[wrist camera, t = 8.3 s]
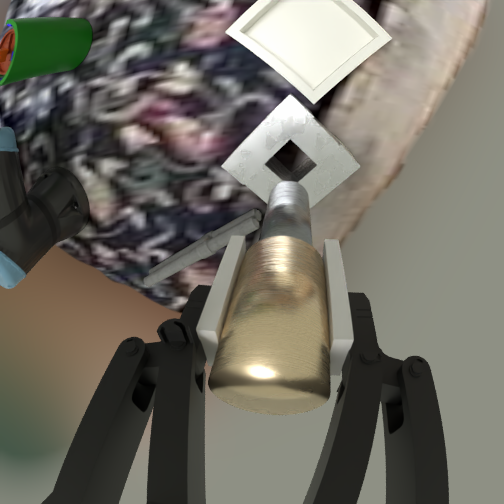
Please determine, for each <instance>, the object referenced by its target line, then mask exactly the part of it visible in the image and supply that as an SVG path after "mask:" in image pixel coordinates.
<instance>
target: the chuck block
mask: <svg viewBox="0 0 504 504" xmlns="http://www.w3.org/2000/svg"><path fill="white" fill-rule="evenodd" d="M290 139H291V140H292V141H293V142H294V143H295V144H296V145H297V146H298V147H299V148H300V149H301V150H302V151H303V152H305V153H306V154H307V155H308V156H309V158H307V159H306V160H305V161H304V162H303V163H302V164H301V165H300V166H299V167H297V168H296V169H295V170H294V171H293V172H291V171H289V170H288V169H287V168H286V167H285V166H284V165H283V164H282V163H281V162H280V161H279V160H278V159H277V158H275V157H274V156H273V155H274V154H275V153H276V152H277V151H278V150H279V149H280V148H281V147H282V146H283V145H285V144H286V143H287V142H288V141H289V140H290ZM221 167H223V168H224V169H225V170H226V171H227V172H229V173H230V174H231V175H232V176H233V177H234V178H236V179H237V180H238V181H239V182H240V183H242V184H243V185H244V184H245V185H246V186H247V187H248V188H250V189H251V190H252V191H253V192H254V193H255V194H257V195H258V196H259V197H260V198H261V199H262V200H263V201H264V202H266V203H267V204H268V200H269V195H270V192H271V190H272V189H273V187H274V186H275V185H277V184H278V183H280V182H284V181H293V182H297V183H299V184H300V185H302V186H303V187H304V188H305V189H306V191H307V193H308V196H309V206H310V209H311V208H312V207H313V206H314V205H315V204H317V203H318V202H319V201H320V200H321V199H323V198H324V197H325V196H326V195H327V194H329V193H330V192H331V191H332V190H333V189H335V188H336V187H337V186H338V185H339V184H341V183H342V182H343V181H344V180H345V179H347V178H348V177H349V176H350V175H351V174H353V173H354V172H355V171H356V170H357V169H359V168H360V165H359V164H358V162H357V161H356V159H355V158H354V156H353V155H352V154H351V152H350V151H349V150H348V149H347V148H346V147H345V146H344V145H343V144H342V142H341V141H340V140H339V139H338V138H337V137H336V136H335V135H332V134H331V133H330V132H329V131H328V130H327V129H326V128H325V127H324V126H323V125H322V124H321V123H320V122H319V121H318V120H317V119H316V118H315V117H314V116H313V114H312V112H311V111H310V110H309V109H308V108H307V107H306V106H305V105H304V104H303V103H302V102H301V101H300V100H298V99H297V98H296V97H295V96H294V95H293V94H292V93H290V94H289V95H288V96H287V97H286V98H285V99H284V100H283V101H282V102H281V103H280V104H279V105H278V106H277V107H276V108H275V109H274V110H273V111H272V112H271V113H270V114H269V115H268V116H267V117H266V118H265V119H264V120H263V121H262V122H261V123H260V124H259V125H258V126H257V127H256V128H255V129H254V130H253V131H252V132H251V133H250V134H249V135H248V136H247V138H246V139H245V140H244V141H243V142H242V143H241V144H240V145H239V146H238V147H237V148H236V149H235V150H234V152H233V153H232V154H231V155H230V156H229V157H228V159H227V160H226V161H225V162H224V163H223V165H222V166H221Z"/></svg>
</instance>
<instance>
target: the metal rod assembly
mask: <svg viewBox="0 0 504 504" xmlns="http://www.w3.org/2000/svg"><path fill="white" fill-rule="evenodd" d="M260 220H261V213H260V211H259V210H257V209H255V208H254V209H253V210H251V211H249V212H247V213H245V214H244V215H242V216H240V217H238V218H237V219H235V220H233V221H231V222H230V223H228V224H226V225H224V226H223V227H221V228H219V229H217V230H216V231H211V232H209V233H207V234H205V235H204V236H202V238H201V239H199V240H198V241H196V242H194V243H193V244H191V245H189V246H188V247H186V248H184V249H183V250H181V251H179V252H178V253H176V254H174V255H173V256H171V257H169V258H168V259H166V260H165V261H163V262H161V263H160V264H158V265H156V266H155V267H153V268H152V269H150V270H149V275H148V276H147V277H145V278H144V283H145V285H146V286H148V287H151V286H152V285H154V284H156V283H158V282H160V281H162V280H163V279H165V278H167V277H169V276H171V275H173V274H174V273H176V272H178V271H180V270H182V269H184V268H186V267H187V266H189V265H191V264H193V263H195V262H197V261H199V260H200V259H202V258H203V259H205V258H207V257H209V256H211V255H213V254H215V253H216V251H217V250H219V249H220V248H222V247H224V246H226V245H228V243H229V240H230V238H231V235H234V236H245V235H247V234H249V233H251V232H253V231H255V230H257V229H258V228H259V221H260Z"/></svg>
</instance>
